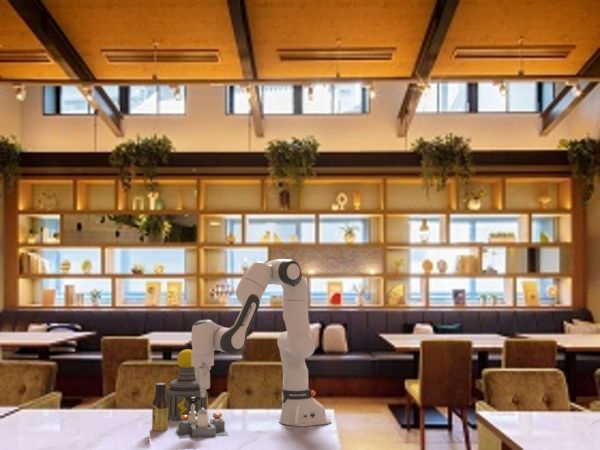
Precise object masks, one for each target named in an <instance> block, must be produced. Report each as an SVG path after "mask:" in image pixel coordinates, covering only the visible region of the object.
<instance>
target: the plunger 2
mask: <svg viewBox="0 0 600 450" xmlns="http://www.w3.org/2000/svg"><path fill="white" fill-rule="evenodd" d="M222 416H223V413H221V412H213V414H212V418H213V419H214V421H221V419H222Z"/></svg>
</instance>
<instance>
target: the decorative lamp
mask: <svg viewBox="0 0 600 450" xmlns="http://www.w3.org/2000/svg"><path fill="white" fill-rule="evenodd" d="M191 353H192V349H189V348H188V349H186V348H185V349H183V350H181V351H180V352H179V354H178V356H177V357H176V358H177V360H176V361H177V364H178V366H179V372H178V374H177V375H178V376H177V378H176V379H173V380H171V381H170V382H169V383H168V384H169V387H168V388H167V390H166V391H165V395H166V397H167V399H168V420H171V419H172V420H171V421H177V420H178V421H182V419H180V416H181V415H189V412H191V406H192V404H191V403H189V401H188V399H187V400H186V399H185V397H189V396H197V397H198V396H200V387H199V385H198V383H197V381H196V377H195V368H194V367H193V366H191ZM208 397H209V393H208V391H207V390H206V393H205V397H201V396H200V400H198V401H197V402H196V403H194V406H195V409H194V410H195V412H196V415H195V416H197V413H199V410H201V408H204V409H205V410H207V411H208V410H209V409H208V407H209V402H208V401H209V400H208V399H209V398H208ZM178 421H177V422H178Z"/></svg>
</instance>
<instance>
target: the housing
mask: <svg viewBox="0 0 600 450" xmlns="http://www.w3.org/2000/svg"><path fill="white" fill-rule="evenodd" d="M225 422H226V421H225V420H224V418H221V421H214V418H212V419H209V427H208V428H197V423H192V422H191V420H188V423H182V421H177V429H176V433H177V435H178V439H181V440H182V439H195V438H213V437H228V436H229V433H228V431H226V428H225V427H226V426H225Z"/></svg>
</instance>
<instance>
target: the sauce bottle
mask: <svg viewBox="0 0 600 450" xmlns="http://www.w3.org/2000/svg"><path fill="white" fill-rule="evenodd" d="M166 387H167V384H166V383H165V382H157V383H155V395H154V399H153V401H152V404H151V405H152V409H151V410H152V411H151V412H152V414H151V416H152V417H151V418H152V419H151V420H152V421H151V430H152V431H154V432H164V431H167V430H168V429H169V428H168V427H169V418H168V399H167V397H166V395H165V394H166Z"/></svg>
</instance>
